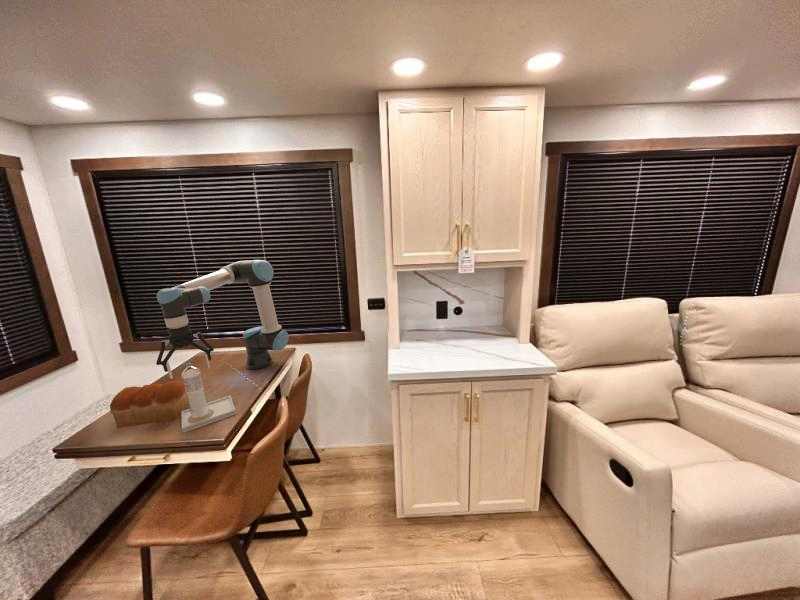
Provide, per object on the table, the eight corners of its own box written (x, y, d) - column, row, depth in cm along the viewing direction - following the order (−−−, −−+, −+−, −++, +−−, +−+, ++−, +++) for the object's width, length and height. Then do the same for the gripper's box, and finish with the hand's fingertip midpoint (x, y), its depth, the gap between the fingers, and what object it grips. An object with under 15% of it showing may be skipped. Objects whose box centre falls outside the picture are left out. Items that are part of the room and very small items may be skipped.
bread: (115, 428, 132) (105, 398, 129) (134, 412, 144) (125, 384, 141) (178, 418, 136) (170, 389, 133) (191, 403, 148) (184, 376, 145)
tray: (231, 399, 150) (230, 395, 149) (236, 413, 137) (235, 409, 136) (182, 415, 139) (181, 411, 138) (182, 432, 126) (181, 428, 125)
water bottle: (210, 415, 134) (199, 363, 129) (192, 422, 130) (179, 368, 125) (208, 409, 140) (197, 358, 134) (191, 415, 136) (178, 363, 130)
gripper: (212, 316, 135) (222, 360, 140) (140, 331, 121) (155, 378, 126) (213, 320, 129) (224, 365, 134) (138, 336, 115) (153, 386, 121)
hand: (190, 372), depth 130 cm, fingers open, 13 cm apart
